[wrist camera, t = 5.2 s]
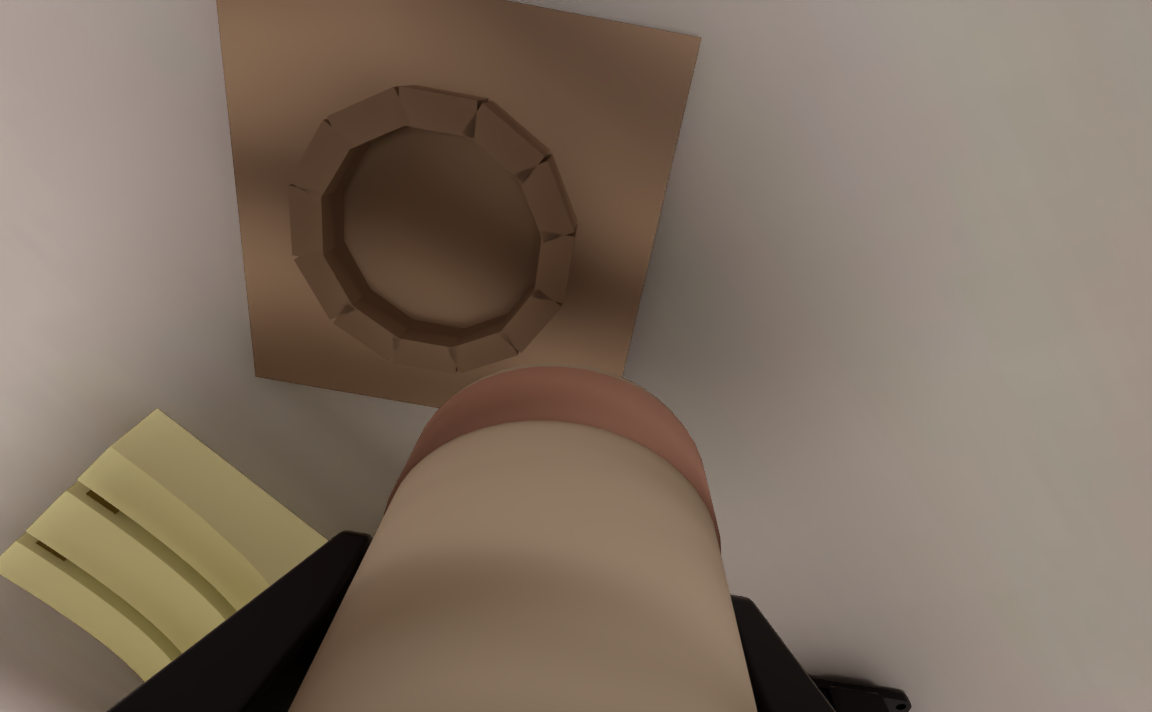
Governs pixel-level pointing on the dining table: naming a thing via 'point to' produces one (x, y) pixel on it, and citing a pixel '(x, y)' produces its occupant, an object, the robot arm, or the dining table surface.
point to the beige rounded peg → (540, 564)
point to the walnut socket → (445, 186)
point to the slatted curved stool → (157, 545)
